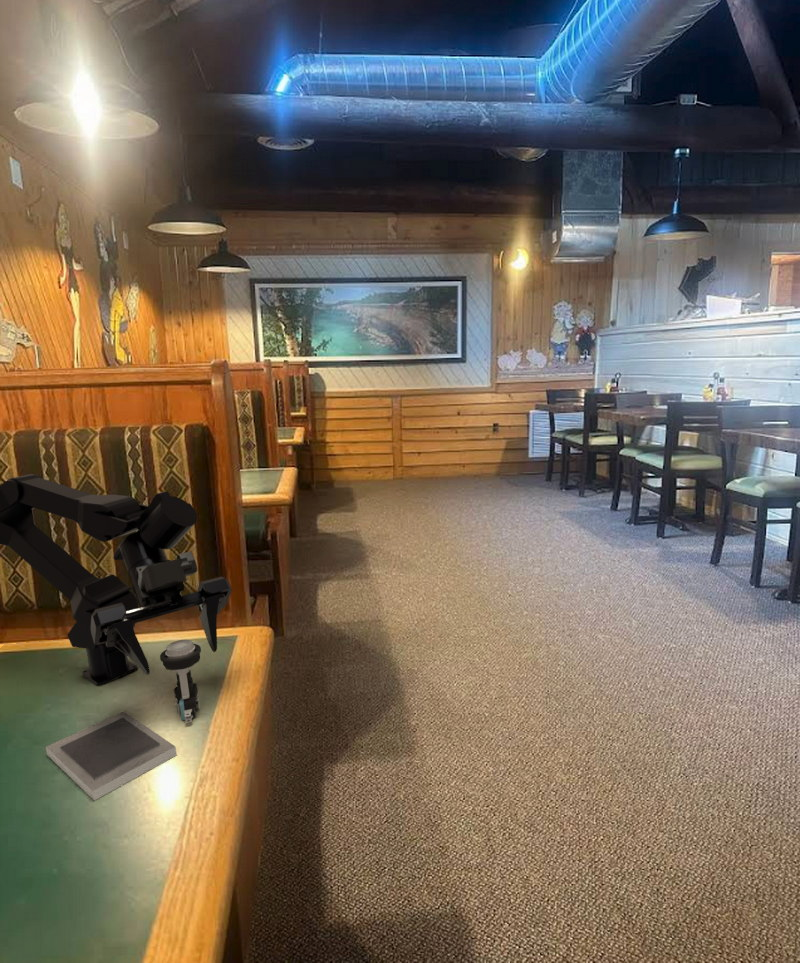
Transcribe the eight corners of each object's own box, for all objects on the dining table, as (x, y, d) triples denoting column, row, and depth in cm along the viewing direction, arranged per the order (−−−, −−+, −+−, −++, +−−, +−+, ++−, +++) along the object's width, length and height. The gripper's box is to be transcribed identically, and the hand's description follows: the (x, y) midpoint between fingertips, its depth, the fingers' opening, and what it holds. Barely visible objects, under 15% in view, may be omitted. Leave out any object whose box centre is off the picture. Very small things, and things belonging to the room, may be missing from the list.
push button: (209, 721, 82) (200, 653, 80) (167, 731, 80) (157, 661, 79) (208, 698, 88) (199, 634, 86) (169, 706, 87) (160, 641, 85)
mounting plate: (47, 755, 77) (45, 745, 76) (124, 718, 84) (123, 709, 84) (94, 800, 68) (92, 789, 67) (176, 755, 75) (175, 745, 75)
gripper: (81, 552, 79) (114, 659, 72) (219, 524, 90) (259, 614, 83) (79, 595, 86) (108, 695, 79) (206, 564, 97) (242, 649, 91)
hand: (182, 661), depth 83 cm, fingers open, 9 cm apart
